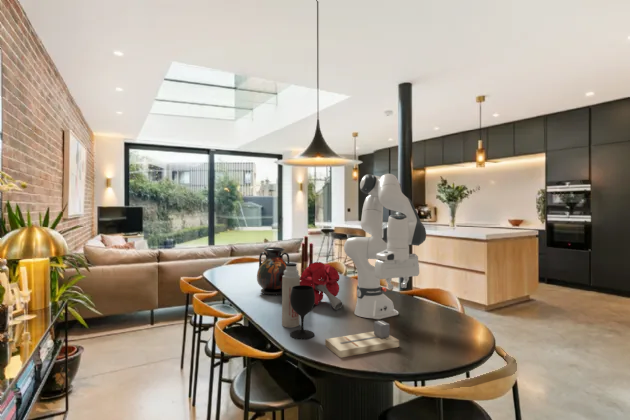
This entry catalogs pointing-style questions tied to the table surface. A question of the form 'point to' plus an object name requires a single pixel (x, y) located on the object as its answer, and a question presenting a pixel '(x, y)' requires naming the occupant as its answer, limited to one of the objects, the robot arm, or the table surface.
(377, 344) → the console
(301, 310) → the wine glass
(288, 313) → the thermos bottle
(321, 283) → the bouquet
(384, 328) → the fader
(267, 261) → the amphora vase
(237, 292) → the table surface
